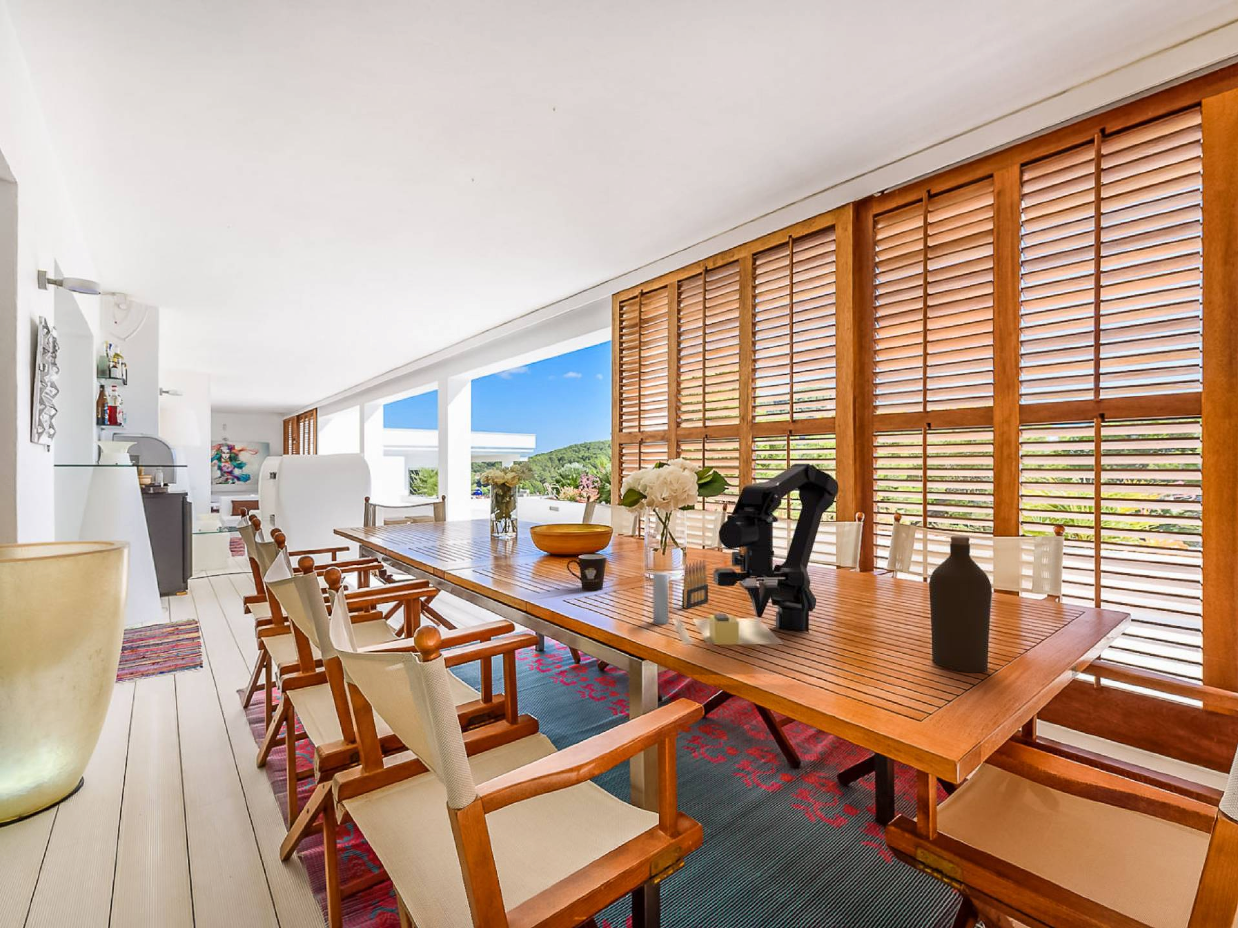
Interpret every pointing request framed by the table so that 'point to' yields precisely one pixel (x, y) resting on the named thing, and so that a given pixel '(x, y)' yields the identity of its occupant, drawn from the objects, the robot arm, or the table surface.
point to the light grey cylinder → (661, 598)
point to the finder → (724, 629)
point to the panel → (748, 632)
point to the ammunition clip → (695, 585)
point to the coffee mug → (590, 571)
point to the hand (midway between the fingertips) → (758, 616)
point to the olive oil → (960, 611)
